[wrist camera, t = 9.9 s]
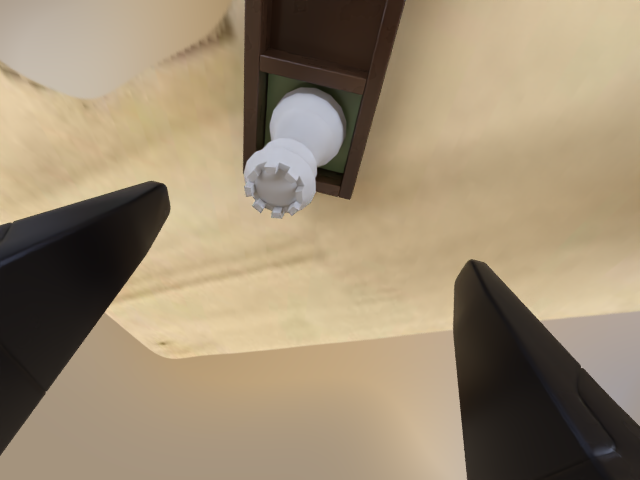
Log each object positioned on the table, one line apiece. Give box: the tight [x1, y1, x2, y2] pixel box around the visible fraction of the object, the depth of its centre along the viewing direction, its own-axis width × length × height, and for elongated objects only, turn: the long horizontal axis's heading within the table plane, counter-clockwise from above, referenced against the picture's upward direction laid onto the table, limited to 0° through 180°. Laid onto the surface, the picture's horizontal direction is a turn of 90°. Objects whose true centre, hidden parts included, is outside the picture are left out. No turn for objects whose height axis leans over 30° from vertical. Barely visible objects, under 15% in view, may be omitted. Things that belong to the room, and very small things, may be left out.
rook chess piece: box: [244, 87, 346, 219], centre depth 17 cm, size 4×4×8 cm
